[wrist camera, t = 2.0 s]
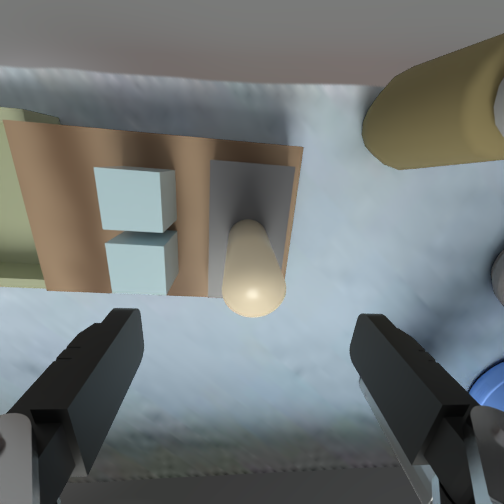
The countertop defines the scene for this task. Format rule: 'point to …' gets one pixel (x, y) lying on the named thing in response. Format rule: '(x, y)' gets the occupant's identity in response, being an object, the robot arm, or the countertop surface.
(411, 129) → the squeeze bottle
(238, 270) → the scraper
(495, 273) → the coffee pot
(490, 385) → the water jug
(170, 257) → the light blue block
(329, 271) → the countertop surface
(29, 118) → the bin
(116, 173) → the pale blue cube
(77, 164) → the flat wooden board
